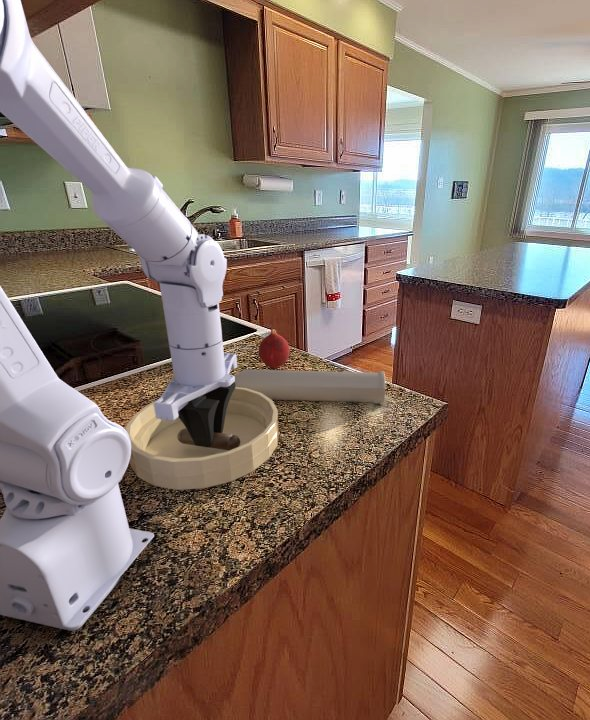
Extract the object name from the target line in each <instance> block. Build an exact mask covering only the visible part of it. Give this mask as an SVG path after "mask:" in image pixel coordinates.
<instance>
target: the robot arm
mask: <svg viewBox="0 0 590 720" xmlns="http://www.w3.org/2000/svg"><path fill="white" fill-rule="evenodd" d="M0 113H1V114H2V115H3V116H4V117H5V118H7V119H8V120H9V121H10V122H11V123H12V124H13V125H15V126H16V127H17V128H18V129H19V130H21V131H22V132H23V133H24V134H25V135H26V136H27V137H28V138H29V139H30V140H32V141H33V142H34V143H35V144H37V145H38V146H39V147H40V148H41V149H42V150H43V151H45V152H46V153H47V154H48V155H49V156H50V157H52V158H53V159H54V160H55V161H56V162H57V163H58V164H59V165H60V166H62V167H63V168H64V169H65V170H66V171H68V172H69V173H70V174H71V175H72V176H73V177H74V178H75V179H77V181H79V182H80V183H81V184H82V185H84V186H85V187H86V188H87V189H88V190H89V191H90V192H91V207H92V211H93V213H94V214H95V216H97V217H98V218H99V219H100V221H102V222H103V223H104V224H105V225H106V226H107V227H109V229H110V230H112V231H113V232H114V233H115V234H116V235H117V236H118V237H119V238H120V239H121V240H122V241H123V242H125V243H126V244H127V245H128V246H129V247H130V248H131V249H132V250H133V251H135V254H136V255H137V256H138V258H139V260H140V264H141V268H142V271H143V273H144V275H145V277H146V278H147V279H148V280H151V281H153V282H155V283H156V284H159V290H160V296H161V302H162V309H163V316H164V321H165V328H166V334H167V340H168V347H169V353H170V358H171V360H170V361H171V366H172V372H173V376H172V378H171V379H170V381H169V383H168V384H167V386H166V388H165V389H164V391H163V393H162V394H161V396H159V398H158V399H156V400H155V401H156V402H154V401H153V402H154V407H155V413H156V418H157V419H163V420H171V421H174V420H175V419H176V418H177V417H179V419H180V420H181V421H182V422H183V424H184V425H185V427H186V428H187V430H188V432H189V434H190V436H191V438H192V440H193V442H194V444H195V446H201V447H208V448H209V447H211V445H212V443H213V438H214V432H217V433H222V432H223V428H224V422H225V416H226V410H227V406H228V403H229V400H230V397H231V395H232V393H233V391H234V389H235V375H234V374H231V370H235V369H237V368H238V357H237V354H236V353H232V352H231V353H230V352H224V343H223V342H224V340H223V334H222V333H223V330H222V322H221V313H220V312H221V311H220V303H221V302H222V301H223V297H224V291H223V289H224V288H223V284H224V280H225V278H226V274H227V268H228V259H227V258H226V257H225V253H224V251H223V249H222V247H221V245H220V244H219V243H218V242H217V241H215V240H214V239H213V238H212V237H211V236H209V235H208V234H203V233H199V232H198V230H197V229H196V228H195V227H194V226H193V225H192V223H191V221H190V219H188V218H187V216H185V214H184V213H183V212H182V211H181V210H180V208H179V207H178V206H177V205H176V203H175V202H174V201H173V200H172V198H171V197H170V196H169V195H168V194H167V192H166V191H165V190H164V189H163V188H164V185H163V183H162V182H161V180H160V179H159V178H158V177H157V176H156V175H152V174H151V173H150V172H148V171H147V170H144V169H141V168H136V167H128V166H127V165H126V164H125V162H124V161H123V159H122V158H121V157H120V156H119V154H118V153H117V152H116V151H115V149H114V148H113V146H112V145H111V144H110V143H109V141H108V140H107V139H106V137H105V136H104V134H103V133H102V132H101V131H100V129H99V128H98V127H97V125H96V124H95V123H94V120H92V118H91V117H90V115H88V114H87V111H85V109H84V108H83V107H82V105H81V104H80V102H78V100H77V99H76V97H75V96H74V95H73V94H72V92H71V90H70V89H69V88H68V87H67V86H66V84H65V83H64V81H63V80H62V79H61V77H60V76H59V75H58V73H57V72H56V71H55V70H54V68H53V67H52V66H51V64H50V63H49V62H48V60H47V59H46V57H45V55H43V54H42V52H41V51H40V50H39V48H38V47H37V46H36V44H35V43H34V41H33V39H32V36H31V34H30V30H29V26H28V23H27V19H26V15H25V12H24V8H23V4H22V1H21V0H0ZM130 456H131V441H130V437H129V435H128V433H127V431H126V430H125V428H124V427H123V425H120V424H119V423H116V422H114V421H111V420H110V419H108V418H107V417H106V416H105V415H104V413H103V412H102V410H101V409H100V408H99V405H98V404H96V403H95V401H92V400H91V399H90V398H88V397H87V396H85V395H84V394H83V393H82V392H79V391H78V390H77V389H75V388H73V387H72V386H70V385H69V384H67V383H66V382H65V381H63V380H62V379H60V377H59V376H58V375H57V372H55V371H54V368H53V367H52V365H51V364H50V362H49V361H48V359H47V358H46V356H45V355H44V353H43V351H42V350H41V348H40V347H39V345H38V343H37V341H36V340H35V339H34V337H33V336H32V333H31V332H30V330H29V328H27V326H26V324H25V323H24V321H23V319H22V318H21V316H20V315H19V313H18V312H17V309H16V308H15V306H14V305H13V303H12V302H11V300H10V298H9V297H8V295H7V294H6V292H5V290H4V289H3V288H2V286H1V285H0V492H1V494H2V495H3V501H4V504H5V507H6V508H5V509H4V512H3V514H2V516H1V518H0V616H3V617H8V618H12V619H17V620H21V621H26V622H30V623H35V624H39V625H43V626H47V627H52V628H56V629H61V630H64V631H69V632H74V631H78V630H79V629H80V628H82V627H83V625H84V624H85V623H86V622H87V620H89V618H90V617H91V616H92V614H94V613H95V612H96V610H97V608H99V606H100V605H101V604H102V603H103V601H104V600H105V599H106V598H107V597H108V595H109V594H110V593H111V592H112V590H113V589H114V588H115V587H116V586H117V585H118V584H119V582H120V581H121V580H122V578H121V577H122V575H123V574H124V573H125V572H126V571H127V570H128V569H129V567H130V566H131V565H132V564H133V562H134V561H135V560H136V558H138V556H139V555H140V554H141V553H142V551H143V550H145V548H146V547H147V546H148V545H149V543H150V542H151V541H152V540H153V538H154V537H155V534H154V532H150V531H146V530H140V529H134V528H130V525H129V522H128V518H127V514H126V510H125V506H124V501H123V498H122V493H121V490H120V485H119V483H120V482H121V481H122V479H123V477H124V475H125V474H126V471H127V470H128V466H129V465H130V462H129V460H130ZM145 539H146V541H144V542H143V540H145Z"/></svg>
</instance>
